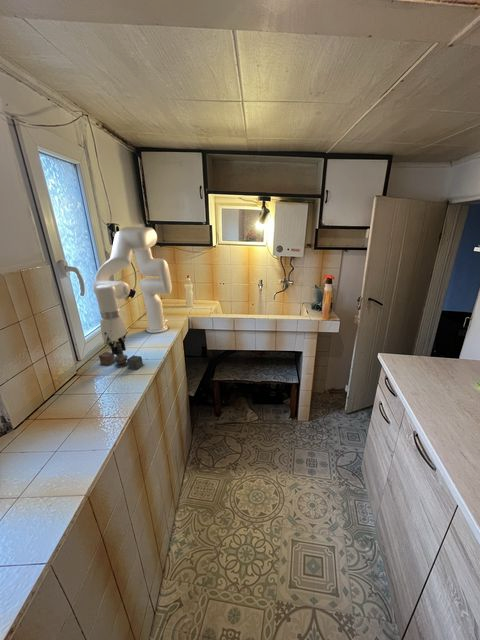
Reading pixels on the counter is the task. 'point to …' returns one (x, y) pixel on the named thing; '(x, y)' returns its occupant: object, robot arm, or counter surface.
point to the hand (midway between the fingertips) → (119, 351)
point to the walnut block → (107, 358)
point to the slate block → (135, 362)
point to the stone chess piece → (120, 357)
